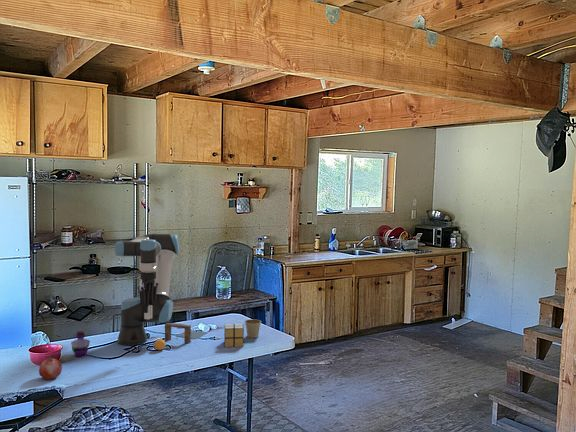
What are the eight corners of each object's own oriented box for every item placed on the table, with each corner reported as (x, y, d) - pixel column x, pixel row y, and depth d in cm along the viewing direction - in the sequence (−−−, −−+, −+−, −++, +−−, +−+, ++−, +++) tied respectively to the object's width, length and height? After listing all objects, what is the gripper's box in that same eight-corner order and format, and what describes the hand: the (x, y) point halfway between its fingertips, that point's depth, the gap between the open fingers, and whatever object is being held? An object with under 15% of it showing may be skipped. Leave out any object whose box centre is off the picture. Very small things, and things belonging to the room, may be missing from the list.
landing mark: (175, 336, 284) (175, 335, 284) (188, 330, 296) (188, 330, 296) (195, 339, 279) (195, 338, 279) (207, 333, 291) (207, 332, 291)
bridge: (187, 343, 271) (187, 326, 270) (164, 340, 276) (164, 323, 275) (190, 342, 273) (190, 325, 273) (168, 339, 279) (168, 322, 278)
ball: (152, 350, 258) (152, 340, 258) (158, 347, 263) (158, 337, 263) (161, 352, 256) (161, 341, 256) (167, 349, 261) (167, 338, 261)
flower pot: (260, 339, 281) (260, 323, 280) (243, 338, 281) (243, 323, 281) (261, 334, 290) (261, 319, 290) (245, 334, 290) (245, 319, 290)
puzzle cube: (224, 341, 275) (224, 323, 275) (243, 341, 277) (243, 323, 276) (224, 347, 266) (224, 328, 265) (243, 347, 267) (243, 328, 266)
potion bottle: (67, 356, 247) (66, 332, 246) (80, 351, 255) (80, 328, 254) (80, 359, 244) (80, 334, 243) (93, 354, 252) (93, 330, 251)
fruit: (49, 373, 226) (48, 350, 225) (66, 375, 223) (66, 353, 222) (33, 380, 217) (32, 357, 216) (51, 383, 214) (51, 359, 214)
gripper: (145, 273, 241) (145, 322, 242) (163, 269, 254) (163, 316, 255) (132, 272, 244) (132, 321, 245) (151, 268, 257) (151, 314, 258)
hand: (148, 318), depth 250 cm, fingers closed
